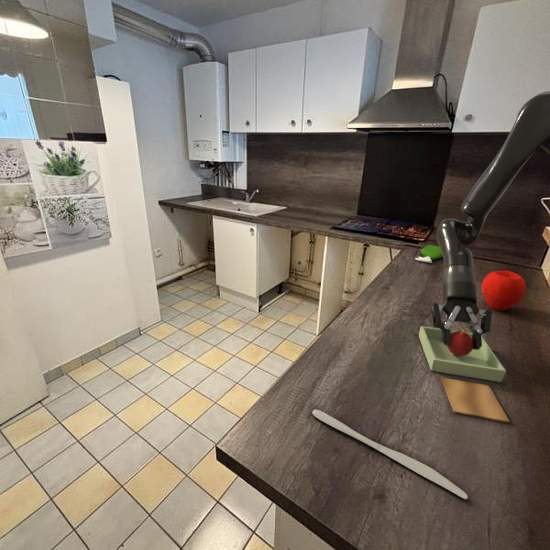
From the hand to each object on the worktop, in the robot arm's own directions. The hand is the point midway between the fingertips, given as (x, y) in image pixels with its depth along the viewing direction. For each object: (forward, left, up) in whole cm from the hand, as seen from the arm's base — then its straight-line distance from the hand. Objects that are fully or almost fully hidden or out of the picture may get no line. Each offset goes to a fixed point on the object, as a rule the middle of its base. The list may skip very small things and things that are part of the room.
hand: (461, 346), depth 73 cm
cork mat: (+1, +13, -4) cm, 14 cm away
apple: (-22, -35, -4) cm, 41 cm away
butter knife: (+21, +30, -4) cm, 37 cm away
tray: (0, -2, -4) cm, 5 cm away
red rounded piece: (0, -2, -4) cm, 5 cm away
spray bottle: (-12, -87, -4) cm, 88 cm away
